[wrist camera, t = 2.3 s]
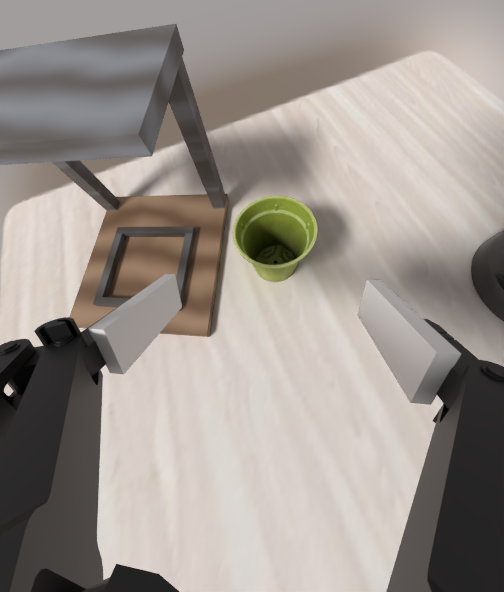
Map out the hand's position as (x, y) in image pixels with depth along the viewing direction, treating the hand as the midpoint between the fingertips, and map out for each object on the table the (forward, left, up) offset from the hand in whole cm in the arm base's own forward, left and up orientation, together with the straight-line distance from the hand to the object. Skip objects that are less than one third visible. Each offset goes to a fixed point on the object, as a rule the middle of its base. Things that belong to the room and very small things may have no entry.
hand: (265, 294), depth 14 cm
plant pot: (-9, -4, -15) cm, 17 cm away
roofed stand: (0, -22, -14) cm, 26 cm away
